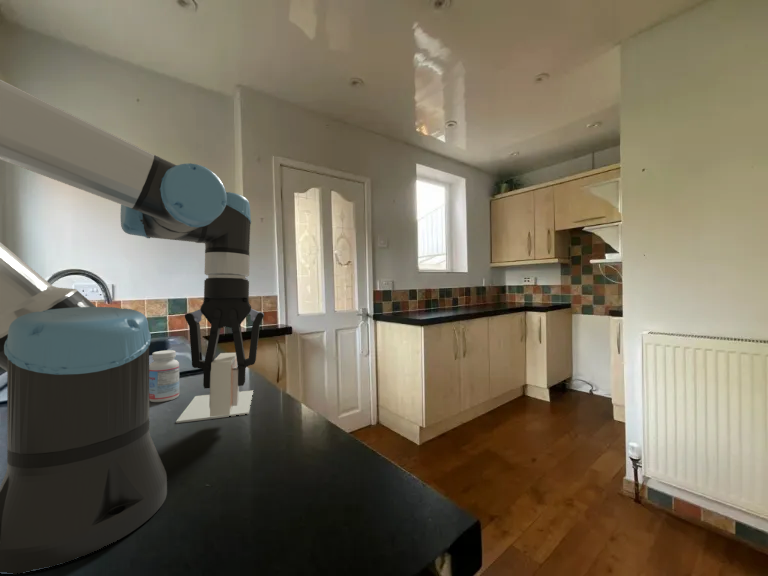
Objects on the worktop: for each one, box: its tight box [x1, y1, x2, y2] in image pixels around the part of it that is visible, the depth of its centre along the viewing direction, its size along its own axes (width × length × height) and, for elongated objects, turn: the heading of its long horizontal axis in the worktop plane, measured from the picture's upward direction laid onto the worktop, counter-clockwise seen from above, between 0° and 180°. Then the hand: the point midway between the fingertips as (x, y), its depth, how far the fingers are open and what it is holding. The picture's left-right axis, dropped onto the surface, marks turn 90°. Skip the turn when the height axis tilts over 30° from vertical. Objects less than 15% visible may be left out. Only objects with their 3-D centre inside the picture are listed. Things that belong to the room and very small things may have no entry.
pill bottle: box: [149, 349, 180, 403], centre depth 77 cm, size 6×6×11 cm
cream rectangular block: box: [210, 352, 238, 417], centre depth 60 cm, size 10×3×9 cm, turn 19°
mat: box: [175, 389, 254, 424], centre depth 72 cm, size 16×13×1 cm
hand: (224, 404), depth 60 cm, fingers closed on cream rectangular block, 3 cm apart
